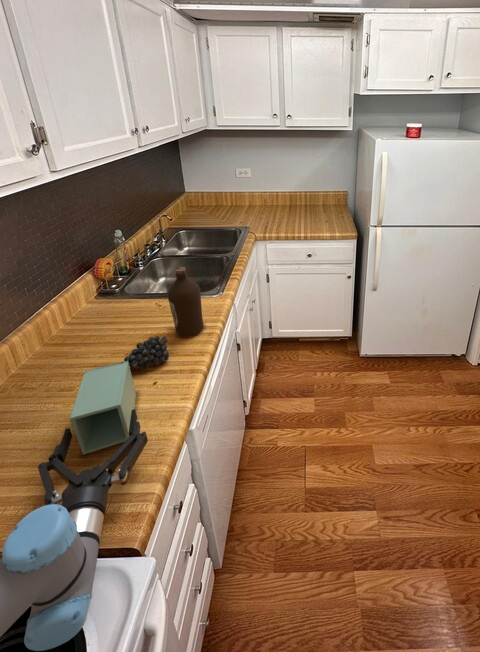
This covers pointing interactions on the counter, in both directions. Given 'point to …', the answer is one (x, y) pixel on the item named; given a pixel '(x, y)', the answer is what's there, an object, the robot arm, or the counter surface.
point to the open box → (104, 407)
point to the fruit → (148, 353)
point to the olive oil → (185, 305)
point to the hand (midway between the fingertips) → (102, 422)
